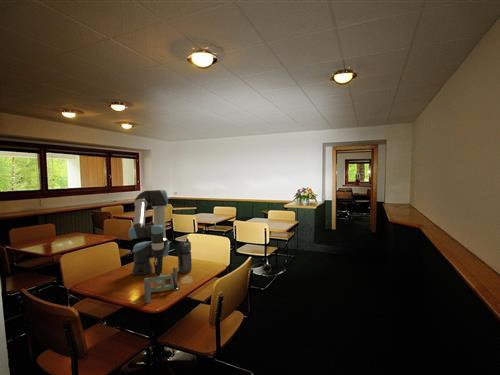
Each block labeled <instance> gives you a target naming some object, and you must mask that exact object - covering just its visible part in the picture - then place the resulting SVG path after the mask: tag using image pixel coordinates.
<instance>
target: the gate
mask: <svg viewBox="0 0 500 375" xmlns="http://www.w3.org/2000/svg"><path fill="white" fill-rule="evenodd" d="M169 279H170V281H169V282H170V284H166V280H169ZM146 280H151V282H153V287H151V293H154V292H160V291H166V290H171V289H173V287H174V278H173V273H170V274H163V275H162V274H161V276H157V275H156V276H150V277H145V278H144V279H143V281H146ZM157 280H162V283H161V285H160V286H157Z"/></svg>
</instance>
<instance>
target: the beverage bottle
mask: <svg viewBox="0 0 500 375" xmlns="http://www.w3.org/2000/svg"><path fill="white" fill-rule="evenodd" d="M189 240H190V239H189V238H186V241H180V242H179V243H178V244H177V252H178V253H177V262H178V263H177V266H178V267H177V272H179V273H182V274H188V273H189V272H191V271H192V266H193V265H192V251H191V250H192V242H191V241H189Z"/></svg>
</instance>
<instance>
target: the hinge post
mask: <svg viewBox="0 0 500 375" xmlns="http://www.w3.org/2000/svg"><path fill="white" fill-rule="evenodd" d="M172 272H173V273H172V274H173V289H170V290H171V291H172V292H173V291H175V292H177V291H178V290H180V289H181V286H180V285H179V286H178V267H177V266H174V267H173V268H172Z"/></svg>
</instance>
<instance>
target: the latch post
mask: <svg viewBox="0 0 500 375" xmlns="http://www.w3.org/2000/svg"><path fill="white" fill-rule="evenodd" d="M142 283H143V284H144V303H145V304H149V303H151V302H152V297H151V296H152V294H151V293H152V292H151V288H152V287H151V283H152V281H151V280H146V281H144V280H143V282H142Z"/></svg>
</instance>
